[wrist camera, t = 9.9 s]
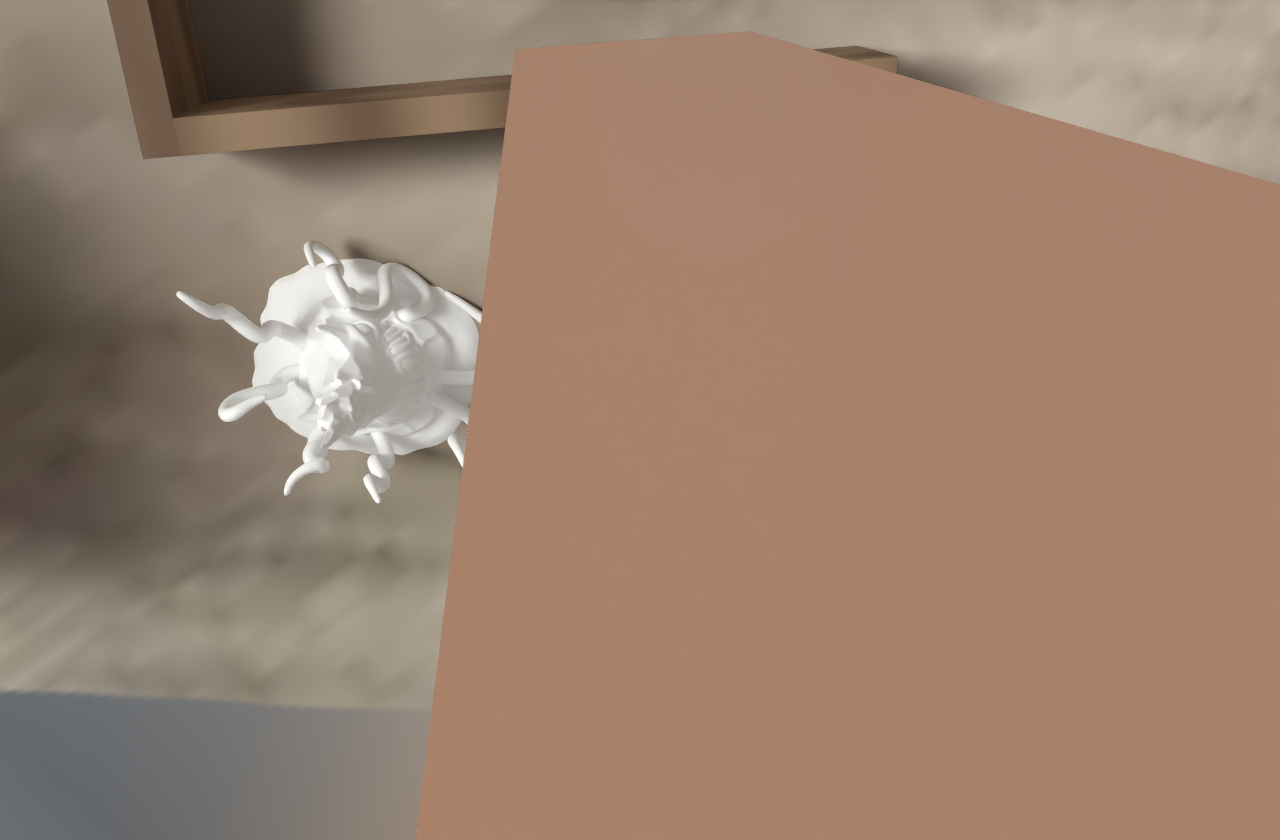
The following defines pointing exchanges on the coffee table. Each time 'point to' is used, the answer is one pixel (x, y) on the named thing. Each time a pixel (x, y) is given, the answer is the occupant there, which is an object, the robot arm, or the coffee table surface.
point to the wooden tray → (294, 95)
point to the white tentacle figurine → (358, 361)
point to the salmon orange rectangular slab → (858, 469)
